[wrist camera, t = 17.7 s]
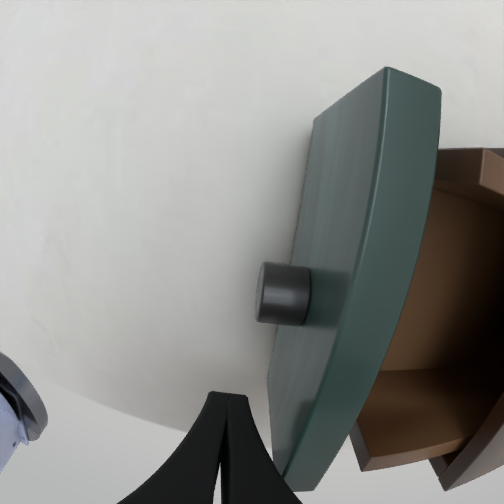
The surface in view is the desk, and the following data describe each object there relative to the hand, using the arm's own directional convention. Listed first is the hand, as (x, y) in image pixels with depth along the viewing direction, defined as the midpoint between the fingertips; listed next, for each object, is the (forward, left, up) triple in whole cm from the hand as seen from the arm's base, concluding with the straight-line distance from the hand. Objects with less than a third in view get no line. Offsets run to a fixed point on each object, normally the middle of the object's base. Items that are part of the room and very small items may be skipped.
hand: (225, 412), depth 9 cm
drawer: (+7, -9, -2) cm, 12 cm away
